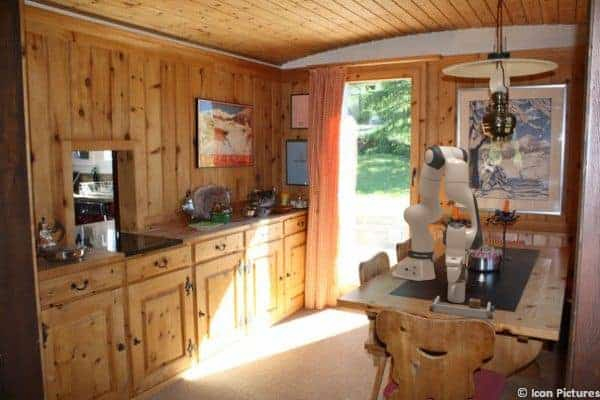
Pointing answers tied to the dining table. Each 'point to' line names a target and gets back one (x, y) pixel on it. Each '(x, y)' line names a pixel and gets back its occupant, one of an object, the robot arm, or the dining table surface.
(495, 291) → the dining table surface
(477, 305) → the walnut block
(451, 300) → the cup
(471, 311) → the cart frame
